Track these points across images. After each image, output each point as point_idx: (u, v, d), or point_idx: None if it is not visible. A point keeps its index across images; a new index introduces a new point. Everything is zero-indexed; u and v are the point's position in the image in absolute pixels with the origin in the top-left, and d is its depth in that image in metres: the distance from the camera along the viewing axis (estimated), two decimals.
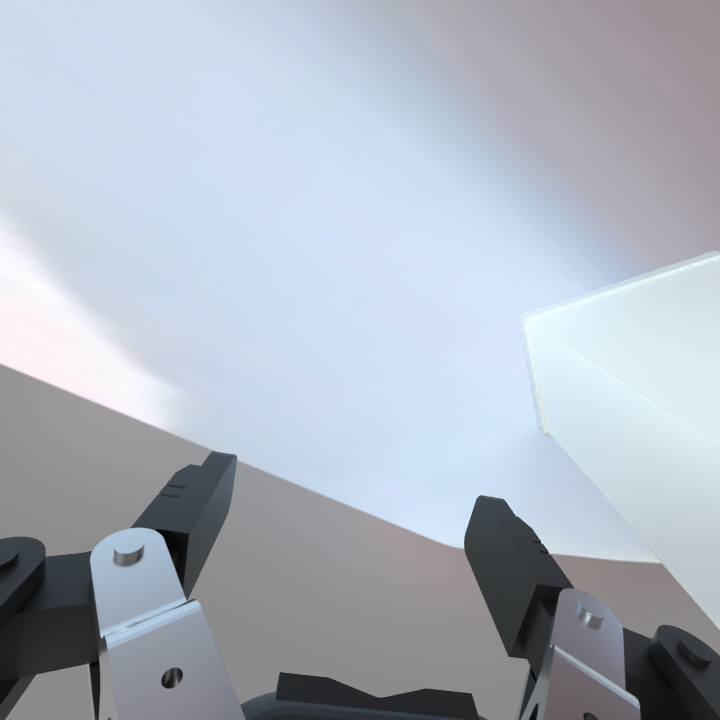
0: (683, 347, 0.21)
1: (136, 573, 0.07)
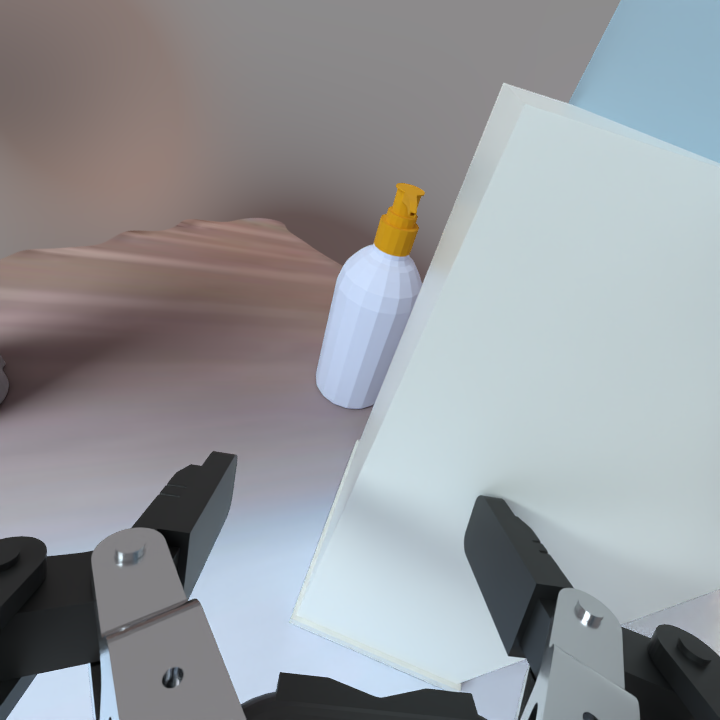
0: (346, 486, 0.22)
1: (137, 573, 0.07)
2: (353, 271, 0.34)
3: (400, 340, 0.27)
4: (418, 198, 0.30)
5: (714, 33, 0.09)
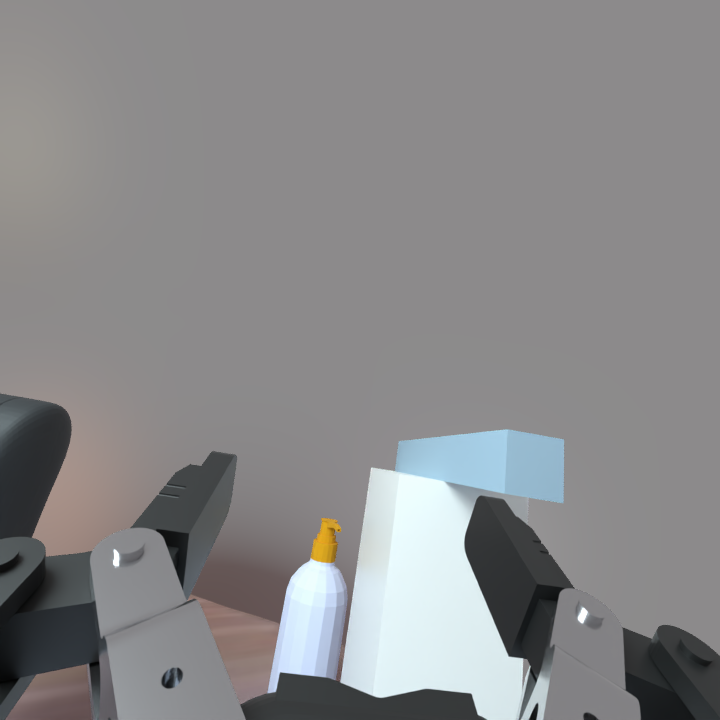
0: None
1: (137, 573, 0.07)
2: (301, 581, 0.49)
3: (353, 608, 0.42)
4: None
5: (425, 455, 0.39)
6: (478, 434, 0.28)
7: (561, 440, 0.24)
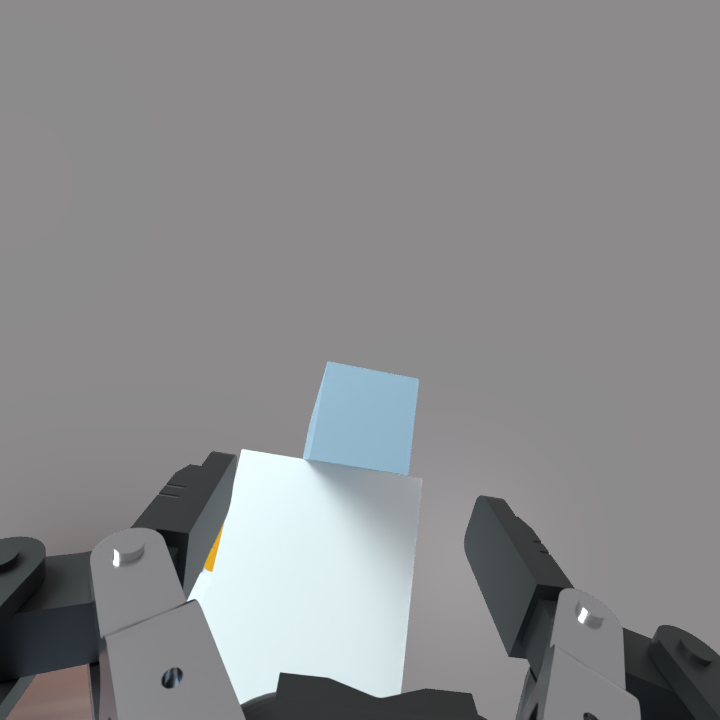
0: None
1: (136, 573, 0.07)
2: None
3: None
4: None
5: None
6: (321, 384, 0.19)
7: (414, 380, 0.16)
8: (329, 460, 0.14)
